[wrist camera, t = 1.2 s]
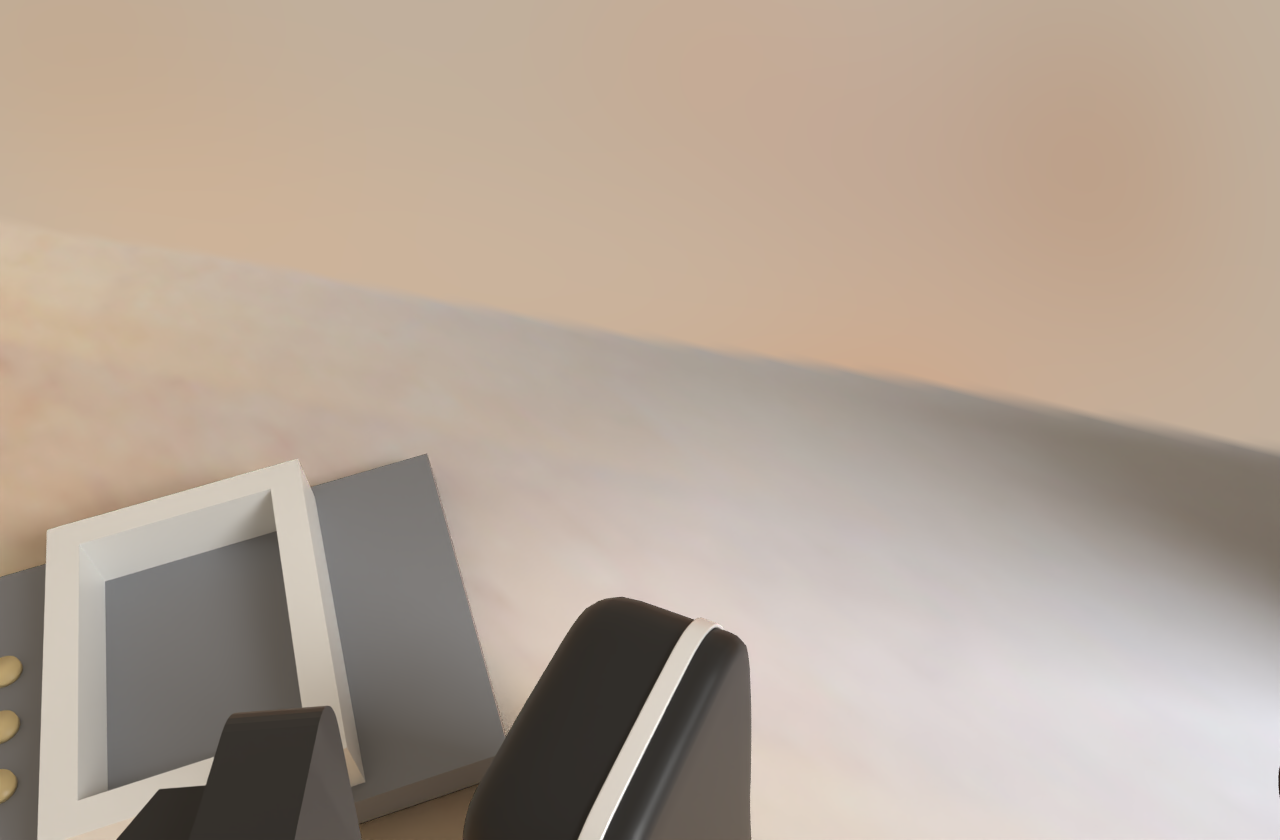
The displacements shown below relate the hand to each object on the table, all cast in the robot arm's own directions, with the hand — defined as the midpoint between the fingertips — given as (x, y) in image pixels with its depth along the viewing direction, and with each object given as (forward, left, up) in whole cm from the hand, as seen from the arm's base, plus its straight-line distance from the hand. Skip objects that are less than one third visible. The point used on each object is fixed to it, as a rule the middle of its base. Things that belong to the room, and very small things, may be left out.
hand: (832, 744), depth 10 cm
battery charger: (+1, -7, -23) cm, 24 cm away
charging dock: (+11, -19, -22) cm, 31 cm away
